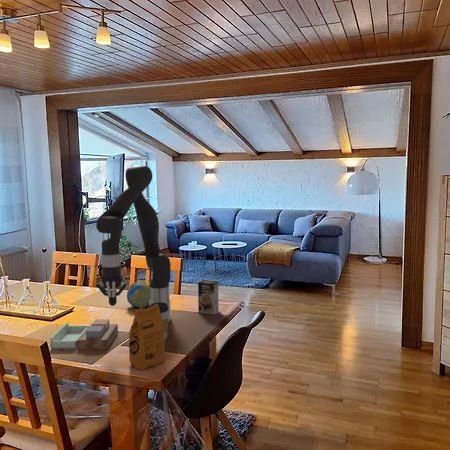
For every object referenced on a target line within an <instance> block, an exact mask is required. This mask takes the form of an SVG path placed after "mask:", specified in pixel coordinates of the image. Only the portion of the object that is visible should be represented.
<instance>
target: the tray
mask: <svg viewBox="0 0 450 450" xmlns="http://www.w3.org/2000/svg"><path fill="white" fill-rule="evenodd" d="M89 326H90V325H89V324H88V325H87V324H86V325H69V322H65V323H64V324H63V325H62V326H61V327H60V328H59V329H58V330H57V331H56V332H55V333H54V334H53V335H52V336H50V338H49V339H50V350H51V349H54V351H55V349H56V350H57V349H65V350H76V349H78V344H77V340H78V339H79V338H80V336H81V335H82V334H83V333H84V332H85V331H86V330H87V328H88V327H89Z"/></svg>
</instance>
